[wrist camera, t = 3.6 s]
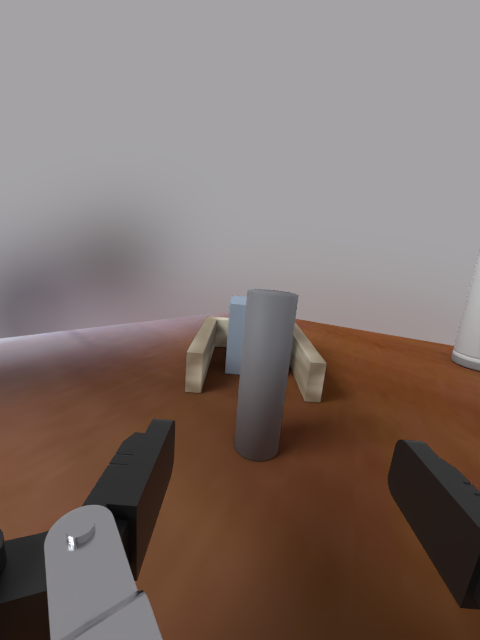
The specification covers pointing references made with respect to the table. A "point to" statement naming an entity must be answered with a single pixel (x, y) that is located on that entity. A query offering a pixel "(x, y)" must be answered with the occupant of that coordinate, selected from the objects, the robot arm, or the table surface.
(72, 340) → the table surface
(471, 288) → the travel mug
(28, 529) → the table surface
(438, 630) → the table surface
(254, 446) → the block
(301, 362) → the frame
